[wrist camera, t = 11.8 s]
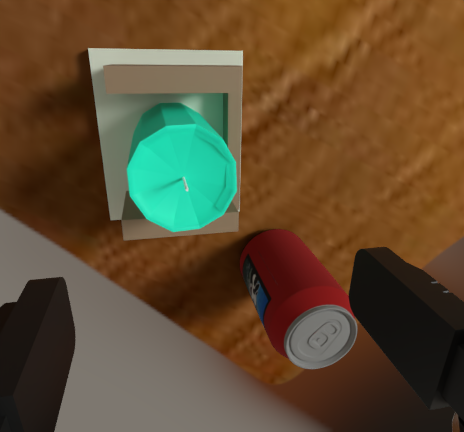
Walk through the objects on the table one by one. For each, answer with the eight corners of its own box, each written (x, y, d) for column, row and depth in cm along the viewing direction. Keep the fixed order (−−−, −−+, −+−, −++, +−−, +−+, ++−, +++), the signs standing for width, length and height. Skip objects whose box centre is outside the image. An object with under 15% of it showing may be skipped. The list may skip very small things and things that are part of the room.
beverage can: (223, 262, 35) (256, 351, 25) (271, 211, 34) (328, 282, 24) (269, 296, 38) (317, 389, 27) (315, 250, 37) (384, 329, 26)
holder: (89, 48, 26) (71, 45, 20) (239, 51, 28) (266, 49, 22) (111, 215, 31) (102, 255, 25) (237, 207, 33) (257, 241, 27)
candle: (200, 183, 31) (228, 251, 20) (127, 169, 29) (115, 234, 18) (218, 112, 29) (260, 144, 18) (140, 92, 27) (135, 114, 16)
